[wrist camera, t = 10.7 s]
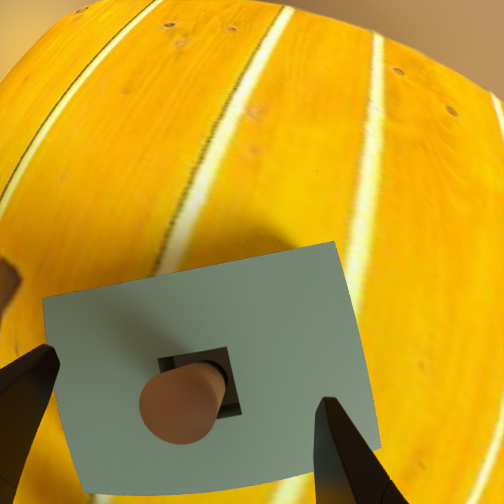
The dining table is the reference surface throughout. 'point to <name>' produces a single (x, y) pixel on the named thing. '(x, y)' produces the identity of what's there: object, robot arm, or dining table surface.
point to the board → (220, 351)
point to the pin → (183, 402)
